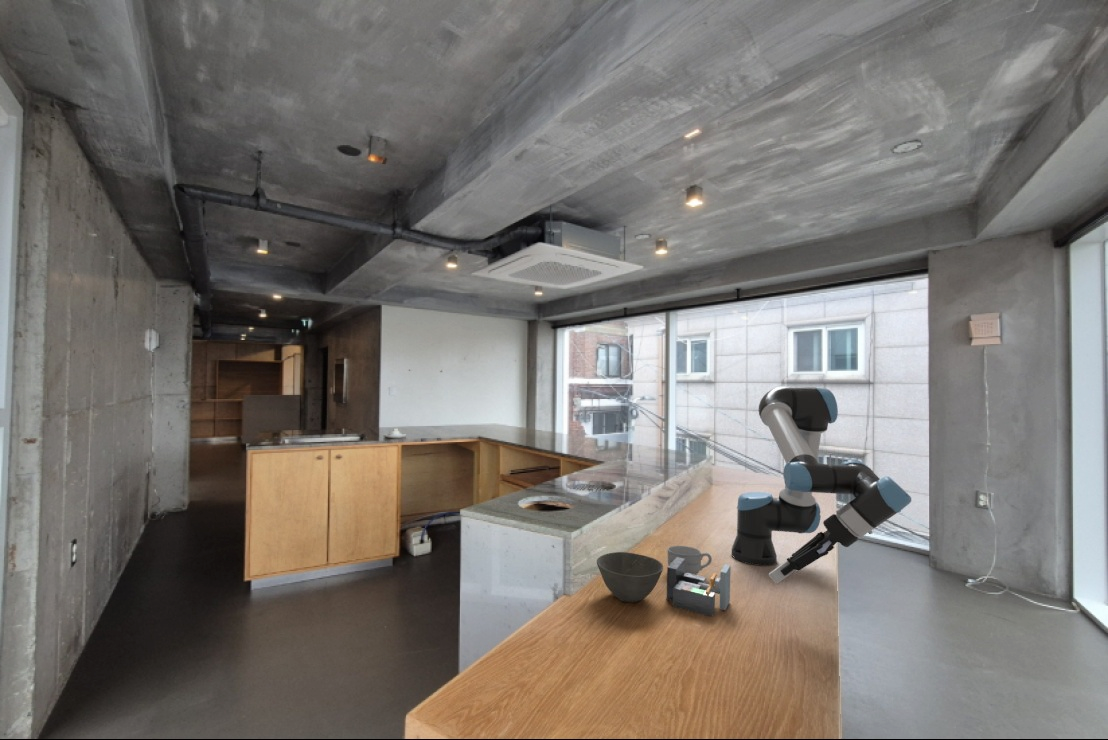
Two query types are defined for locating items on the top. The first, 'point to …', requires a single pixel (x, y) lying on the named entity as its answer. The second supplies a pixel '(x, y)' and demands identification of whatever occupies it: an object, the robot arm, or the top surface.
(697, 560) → the teacup
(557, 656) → the top surface
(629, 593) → the bowl
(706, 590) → the orange bar
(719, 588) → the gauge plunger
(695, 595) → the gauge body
